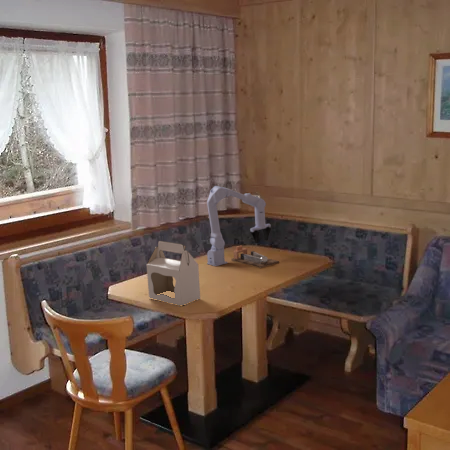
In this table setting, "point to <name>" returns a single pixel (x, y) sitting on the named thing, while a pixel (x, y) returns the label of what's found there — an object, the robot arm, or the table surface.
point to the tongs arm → (255, 254)
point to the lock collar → (238, 250)
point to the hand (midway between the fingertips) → (261, 241)
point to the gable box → (173, 275)
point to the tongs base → (254, 259)
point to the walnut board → (269, 262)
